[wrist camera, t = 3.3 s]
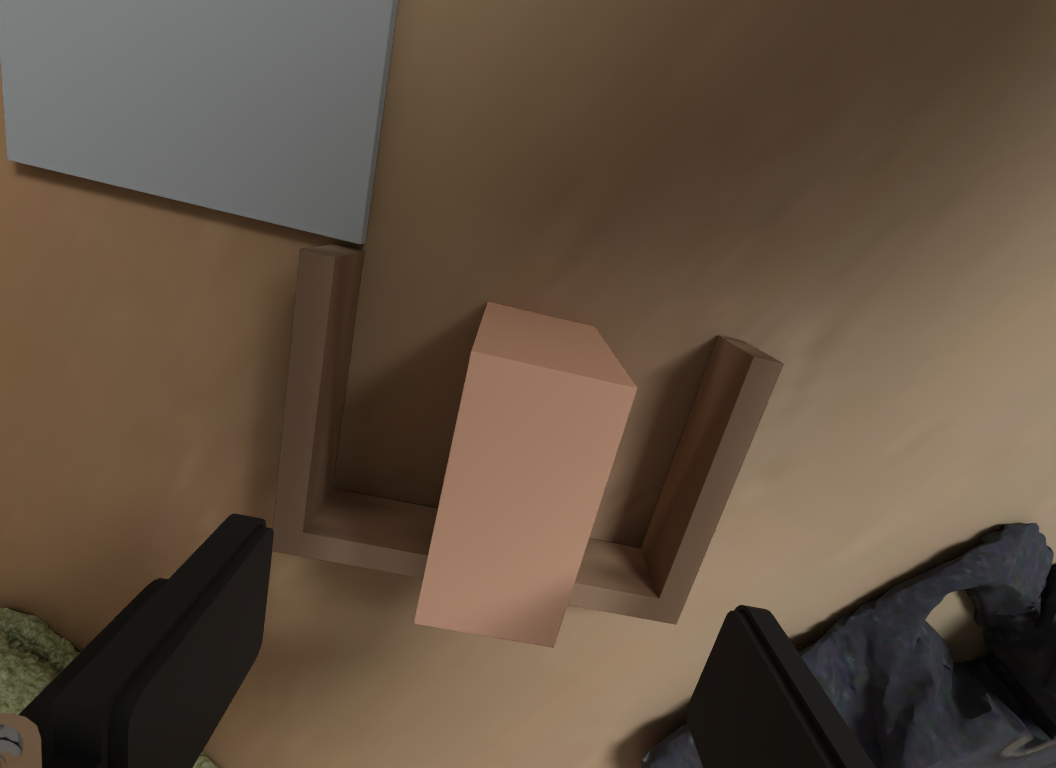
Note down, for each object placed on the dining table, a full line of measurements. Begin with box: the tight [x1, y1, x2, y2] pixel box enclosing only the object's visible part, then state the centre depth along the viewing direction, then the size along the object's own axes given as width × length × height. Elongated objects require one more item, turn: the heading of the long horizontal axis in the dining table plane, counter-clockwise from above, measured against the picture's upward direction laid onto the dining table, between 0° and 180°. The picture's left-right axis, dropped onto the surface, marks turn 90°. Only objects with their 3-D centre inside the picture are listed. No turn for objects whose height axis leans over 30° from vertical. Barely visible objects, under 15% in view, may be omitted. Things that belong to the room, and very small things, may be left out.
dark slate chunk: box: [642, 523, 1056, 768], centre depth 23 cm, size 15×22×5 cm
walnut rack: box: [272, 244, 783, 624], centre depth 18 cm, size 15×10×3 cm
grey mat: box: [0, 0, 399, 244], centre depth 15 cm, size 11×11×1 cm
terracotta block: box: [414, 302, 637, 648], centre depth 16 cm, size 4×8×7 cm, turn 166°
